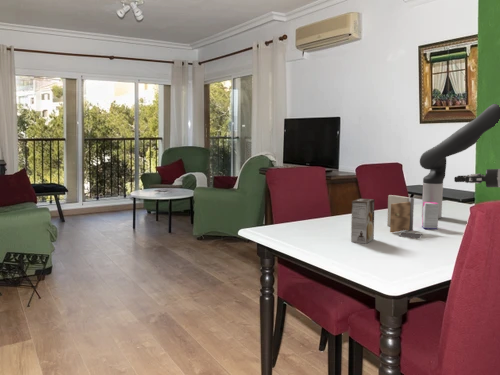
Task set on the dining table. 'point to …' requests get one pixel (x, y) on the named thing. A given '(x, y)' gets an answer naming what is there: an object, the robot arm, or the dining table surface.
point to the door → (400, 217)
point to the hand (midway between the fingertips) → (455, 178)
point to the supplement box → (430, 215)
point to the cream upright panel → (400, 199)
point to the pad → (410, 235)
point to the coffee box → (362, 220)
